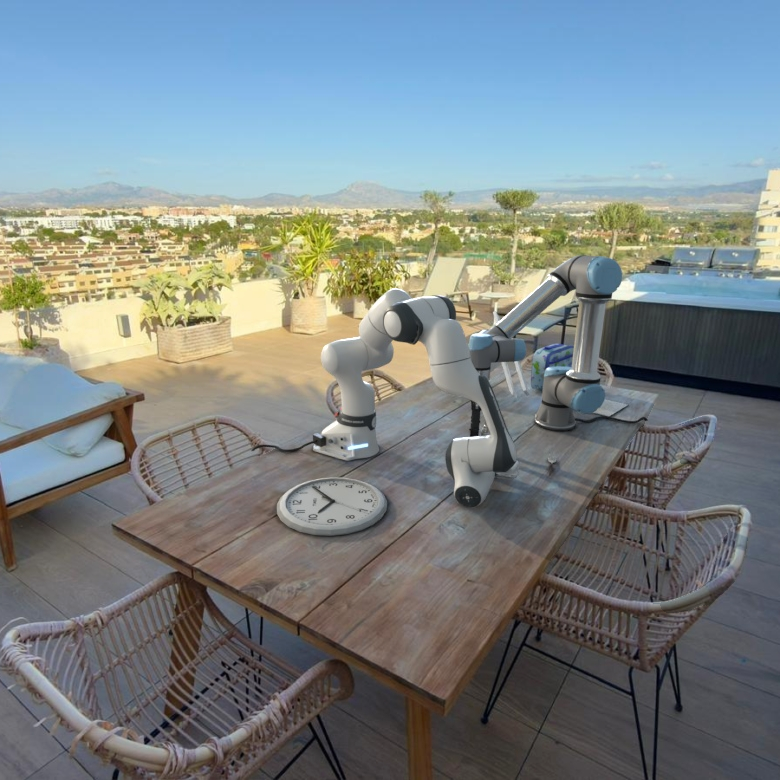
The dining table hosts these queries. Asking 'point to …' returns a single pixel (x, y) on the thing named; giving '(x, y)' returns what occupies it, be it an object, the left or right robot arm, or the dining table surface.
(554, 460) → the fork
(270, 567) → the dining table surface
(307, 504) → the wall clock
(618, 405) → the invitation card
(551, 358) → the lunch box
